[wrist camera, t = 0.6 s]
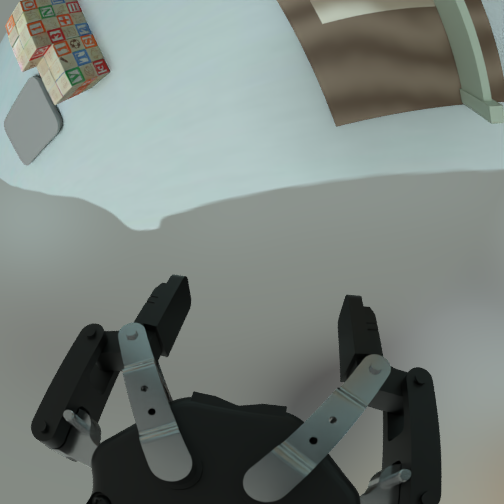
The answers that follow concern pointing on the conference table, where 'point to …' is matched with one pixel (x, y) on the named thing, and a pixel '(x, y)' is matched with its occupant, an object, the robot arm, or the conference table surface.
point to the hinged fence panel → (469, 60)
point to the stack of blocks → (56, 46)
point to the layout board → (386, 55)
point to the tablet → (32, 120)
